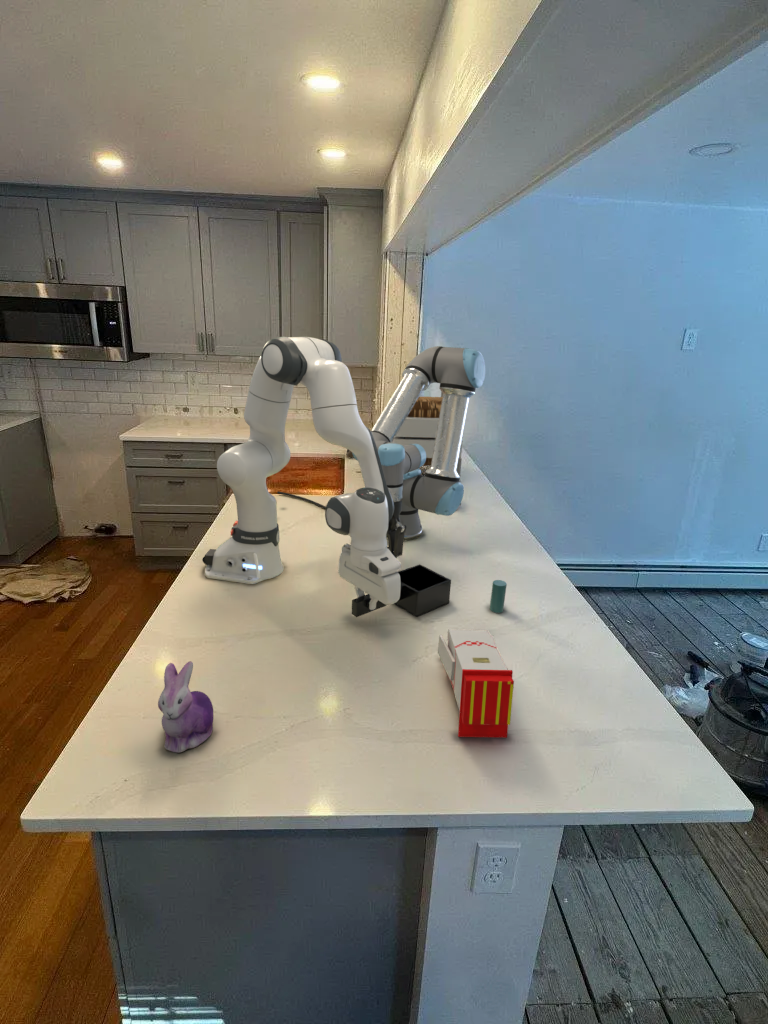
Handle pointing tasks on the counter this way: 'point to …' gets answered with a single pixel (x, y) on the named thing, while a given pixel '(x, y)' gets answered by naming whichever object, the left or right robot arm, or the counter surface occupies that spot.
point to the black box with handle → (413, 592)
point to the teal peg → (498, 596)
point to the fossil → (349, 454)
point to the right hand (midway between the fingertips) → (385, 572)
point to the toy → (478, 682)
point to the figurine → (184, 711)
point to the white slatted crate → (423, 427)
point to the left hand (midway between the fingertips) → (366, 605)
